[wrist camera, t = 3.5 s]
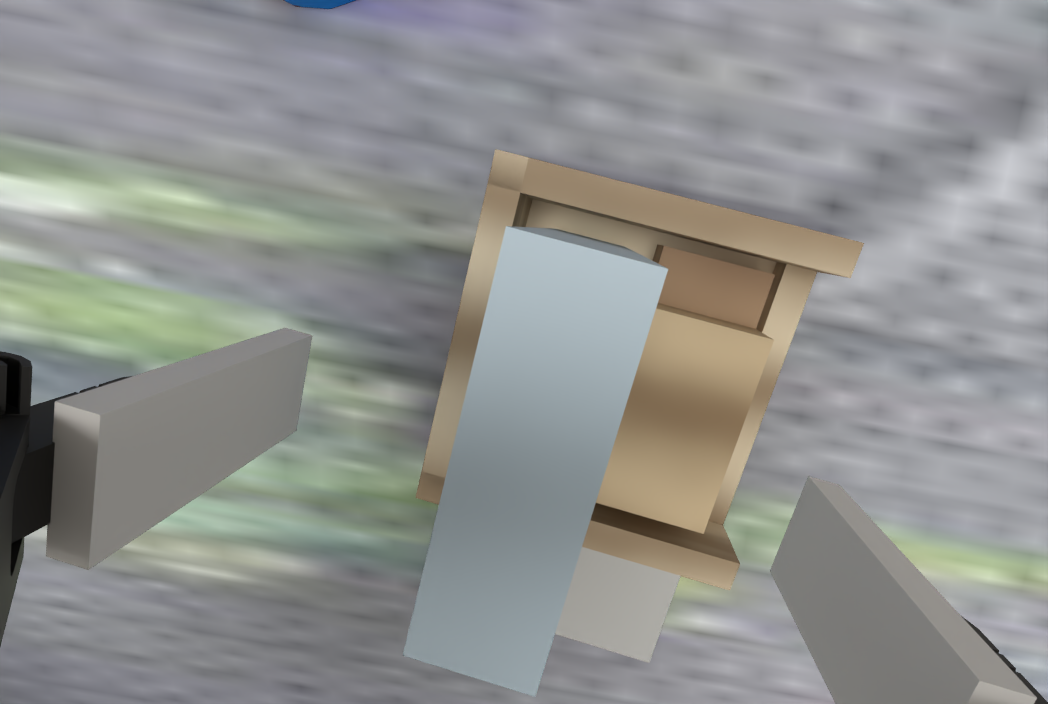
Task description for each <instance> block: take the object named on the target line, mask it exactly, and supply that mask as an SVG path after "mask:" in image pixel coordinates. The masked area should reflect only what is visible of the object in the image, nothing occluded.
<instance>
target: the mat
mask: <svg viewBox="0 0 1048 704" xmlns="http://www.w3.org/2000/svg"><path fill="white" fill-rule="evenodd" d="M679 579H680V576H679V575H676V574H672V573H669V572H666V571H662V570H659V569H655V568H652V567H649V566H645V565H642V564H638V563H635V562H632V561H628V560H625V559H622V558H618V557H615V556H611V555H608V554H605V553H601V552H598V551H594V550H591V549H588V548H584V547H582V548H581V552H580V555H579V558H578V561H577V564H576V568H575V571H574V574H573V577H572V581H571V584H570V587H569V590H568V593H567V597H566V600H565V603H564V606H563V609H562V613H561V616H560V619H559V622H558V626H557V629H556V632H555V634H556V635H560V636H563V637H566V638H569V639H573V640H576V641H579V642H583V643H586V644H589V645H592V646H596V647H599V648H602V649H606V650H609V651H612V652H615V653H619V654H622V655H625V656H628V657H632V658H635V659H638V660H642V661H645V662H648V663H649V662H650V659H651V657H652V654H653V651H654V648H655V645H656V643H657V640H658V637H659V634H660V632H661V629H662V626H663V623H664V621H665V618H666V615H667V612H668V609H669V607H670V604H671V601H672V598H673V596H674V593H675V590H676V587H677V585H678V582H679Z"/></svg>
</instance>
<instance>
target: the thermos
mask: <svg viewBox="0 0 1048 704" xmlns="http://www.w3.org/2000/svg"><path fill="white" fill-rule="evenodd" d="M284 1H286V2H288V3H290V4H292V5H294V6H297V7H310V8H324V9H332V8H335V7H338V6H340V5H343V4H346V3H349V2H352V1H355V0H284Z"/></svg>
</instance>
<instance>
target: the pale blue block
mask: <svg viewBox="0 0 1048 704" xmlns="http://www.w3.org/2000/svg"><path fill="white" fill-rule="evenodd" d="M667 272H668V268H666V267H664V266H662V265H660V264H658V263H656V262H654V261H652V260H650V259H648V258H646V257H644V256H642V255H640V254H638V253H636V252H634V251H632V250H630V249H628V248H627V247H624V246H621V245H617V244H613V243H609V242H605V241H602V240H598V239H594V238H590V237H586V236H582V235H579V234H575V233H571V232H567V231H563V230H560V229H553V228H533V227H512V226H506V228H505V232H504V237H503V241H502V245H501V249H500V253H499V257H498V261H497V266H496V270H495V274H494V278H493V282H492V286H491V291H490V295H489V299H488V303H487V307H486V311H485V315H484V320H483V324H482V328H481V332H480V336H479V340H478V345H477V349H476V353H475V357H474V361H473V365H472V369H471V374H470V378H469V382H468V386H467V390H466V394H465V399H464V403H463V407H462V411H461V415H460V419H459V423H458V428H457V432H456V436H455V440H454V444H453V448H452V453H451V457H450V461H449V465H448V469H447V473H446V477H445V482H444V486H443V490H442V494H441V498H440V502H439V507H438V511H437V515H436V519H435V523H434V527H433V531H432V536H431V540H430V544H429V548H428V552H427V556H426V560H425V565H424V569H423V573H422V577H421V581H420V585H419V590H418V594H417V598H416V602H415V606H414V610H413V614H412V619H411V623H410V627H409V631H408V635H407V639H406V644H405V648H404V652H403V656H406V657H409V658H412V659H415V660H419V661H422V662H425V663H428V664H431V665H435V666H438V667H441V668H444V669H447V670H451V671H454V672H457V673H460V674H463V675H467V676H470V677H473V678H476V679H479V680H483V681H486V682H489V683H492V684H495V685H499V686H502V687H505V688H508V689H511V690H515V691H518V692H521V693H524V694H527V695H531V696H534V697H535V696H536V693H537V690H538V687H539V683H540V680H541V677H542V674H543V671H544V667H545V664H546V661H547V658H548V655H549V651H550V648H551V645H552V642H553V638H554V635H555V632H556V629H557V626H558V622H559V619H560V616H561V613H562V609H563V606H564V603H565V600H566V597H567V593H568V590H569V587H570V584H571V581H572V577H573V574H574V571H575V568H576V564H577V561H578V558H579V555H580V552H581V548H582V545H583V542H584V539H585V535H586V532H587V529H588V526H589V523H590V519H591V516H592V513H593V510H594V507H595V503H596V500H597V497H598V494H599V490H600V487H601V484H602V481H603V478H604V474H605V471H606V468H607V465H608V462H609V458H610V455H611V452H612V449H613V445H614V442H615V439H616V436H617V433H618V429H619V426H620V423H621V420H622V416H623V413H624V410H625V407H626V404H627V400H628V397H629V394H630V391H631V388H632V384H633V381H634V378H635V375H636V371H637V368H638V365H639V362H640V359H641V355H642V352H643V349H644V346H645V342H646V339H647V336H648V333H649V330H650V326H651V323H652V320H653V317H654V314H655V310H656V307H657V304H658V301H659V297H660V294H661V291H662V288H663V285H664V281H665V278H666V275H667Z"/></svg>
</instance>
